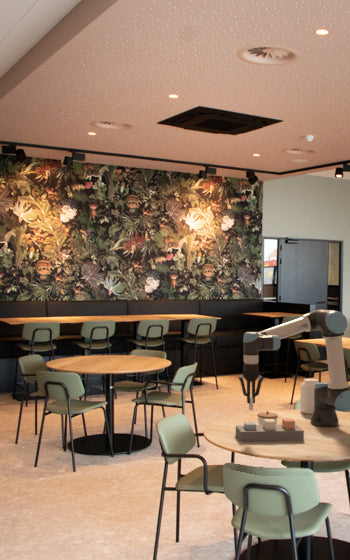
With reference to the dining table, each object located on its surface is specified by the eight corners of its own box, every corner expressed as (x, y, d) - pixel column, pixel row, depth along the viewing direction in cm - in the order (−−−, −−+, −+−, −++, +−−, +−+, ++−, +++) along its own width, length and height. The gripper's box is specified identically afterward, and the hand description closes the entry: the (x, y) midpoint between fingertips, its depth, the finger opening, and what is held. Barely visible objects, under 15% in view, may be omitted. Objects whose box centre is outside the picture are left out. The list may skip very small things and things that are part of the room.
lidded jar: (277, 431, 308) (277, 414, 308) (256, 430, 310) (256, 412, 310) (277, 426, 319) (277, 409, 318) (257, 425, 321) (258, 408, 321)
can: (323, 414, 348) (324, 381, 348) (302, 414, 348) (303, 380, 348) (318, 409, 361) (318, 377, 361) (298, 409, 361) (298, 377, 360)
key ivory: (272, 428, 299) (272, 419, 299) (275, 431, 294) (275, 421, 294) (263, 428, 298) (263, 419, 298) (265, 431, 293) (266, 421, 293)
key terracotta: (291, 428, 300) (291, 418, 300) (294, 431, 295) (295, 421, 295) (282, 428, 299) (282, 418, 299) (285, 431, 294) (285, 421, 294)
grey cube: (253, 431, 298) (253, 422, 298) (256, 434, 293) (256, 424, 293) (244, 431, 297) (244, 422, 297) (246, 434, 292) (246, 424, 292)
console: (296, 434, 304) (296, 424, 304) (303, 440, 292) (303, 430, 292) (235, 435, 300) (235, 425, 300) (241, 441, 288) (241, 431, 288)
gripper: (261, 361, 299) (261, 407, 299) (236, 362, 298) (236, 408, 298) (265, 363, 292) (265, 410, 292) (240, 364, 290) (240, 411, 290)
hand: (250, 409), depth 295 cm, fingers closed
